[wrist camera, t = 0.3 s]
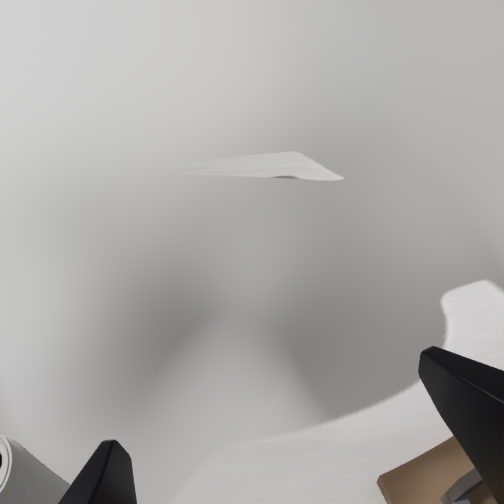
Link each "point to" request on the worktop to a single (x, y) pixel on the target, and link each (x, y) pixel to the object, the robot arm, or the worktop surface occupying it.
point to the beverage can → (26, 477)
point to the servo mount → (436, 479)
